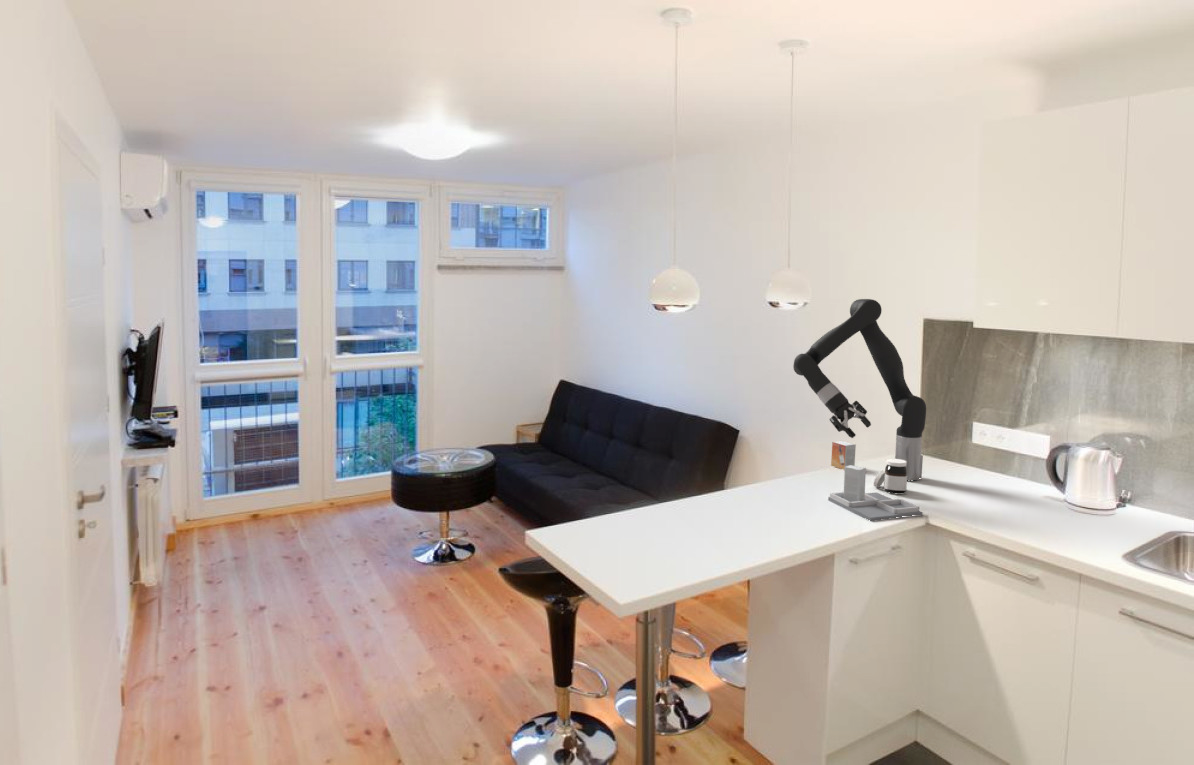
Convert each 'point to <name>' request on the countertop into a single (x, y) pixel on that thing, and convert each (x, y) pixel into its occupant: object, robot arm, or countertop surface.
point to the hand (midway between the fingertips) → (861, 431)
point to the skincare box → (854, 483)
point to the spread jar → (893, 476)
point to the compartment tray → (876, 506)
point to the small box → (843, 454)
